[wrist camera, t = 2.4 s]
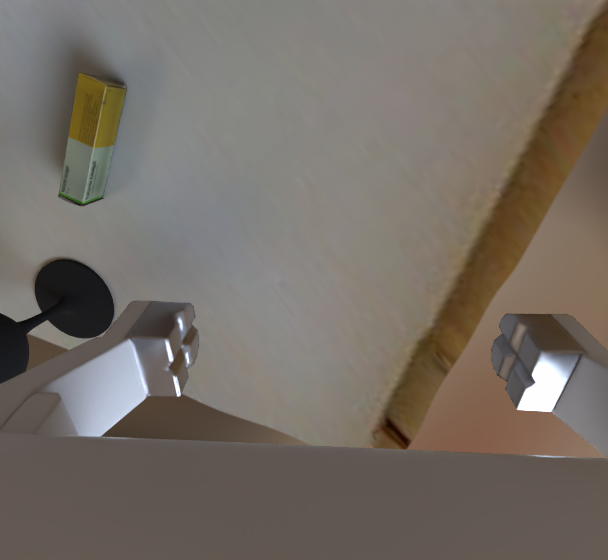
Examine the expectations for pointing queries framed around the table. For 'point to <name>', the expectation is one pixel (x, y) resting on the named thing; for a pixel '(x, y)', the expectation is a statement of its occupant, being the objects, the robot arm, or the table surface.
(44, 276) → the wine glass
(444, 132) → the table surface
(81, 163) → the medication box
